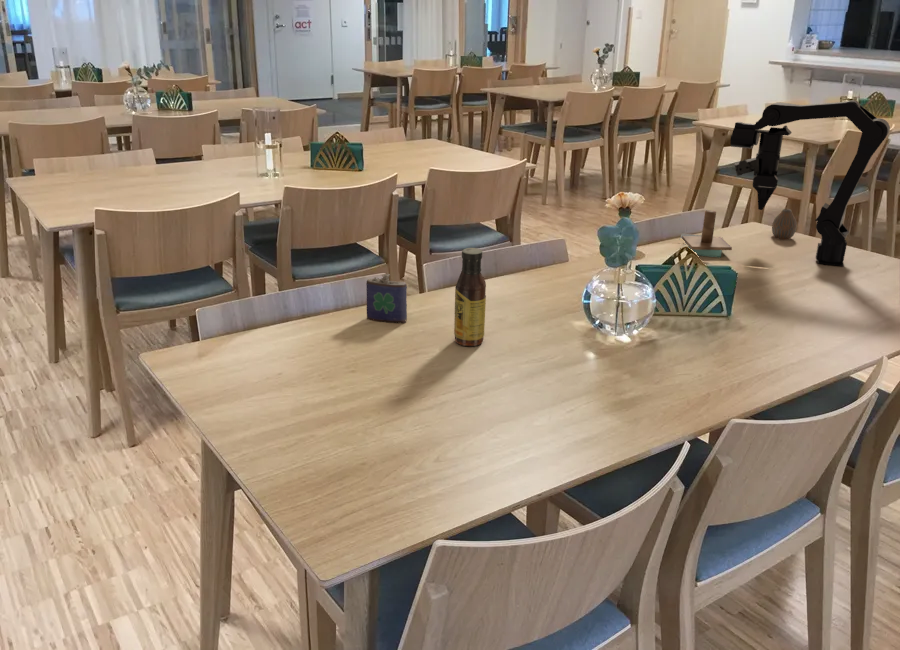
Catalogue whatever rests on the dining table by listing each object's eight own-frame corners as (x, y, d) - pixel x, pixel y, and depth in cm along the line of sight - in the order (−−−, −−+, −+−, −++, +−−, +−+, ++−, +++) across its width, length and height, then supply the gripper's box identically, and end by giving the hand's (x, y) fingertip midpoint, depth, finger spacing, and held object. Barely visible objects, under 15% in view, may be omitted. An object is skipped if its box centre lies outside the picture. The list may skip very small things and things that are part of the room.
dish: (722, 250, 232) (723, 241, 231) (720, 258, 224) (721, 250, 223) (689, 246, 235) (690, 238, 234) (687, 255, 227) (688, 246, 226)
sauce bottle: (452, 336, 169) (454, 245, 162) (482, 335, 170) (485, 244, 163) (455, 348, 163) (457, 254, 156) (486, 348, 164) (489, 254, 156)
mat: (722, 238, 244) (722, 237, 243) (720, 249, 233) (720, 247, 233) (681, 234, 247) (681, 233, 247) (677, 244, 237) (678, 243, 237)
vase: (796, 241, 242) (801, 213, 239) (772, 240, 243) (777, 211, 240) (792, 235, 248) (797, 207, 245) (768, 234, 249) (773, 206, 246)
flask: (408, 320, 178) (408, 274, 174) (404, 325, 175) (403, 278, 171) (369, 315, 180) (367, 269, 176) (364, 320, 177) (362, 274, 173)
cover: (720, 239, 234) (724, 207, 230) (731, 250, 223) (736, 216, 220) (682, 238, 234) (686, 206, 230) (691, 249, 224) (696, 215, 220)
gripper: (739, 143, 233) (731, 196, 238) (737, 153, 216) (729, 210, 222) (781, 146, 229) (772, 200, 235) (781, 156, 213) (772, 214, 218)
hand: (760, 206), depth 228 cm, fingers open, 9 cm apart
